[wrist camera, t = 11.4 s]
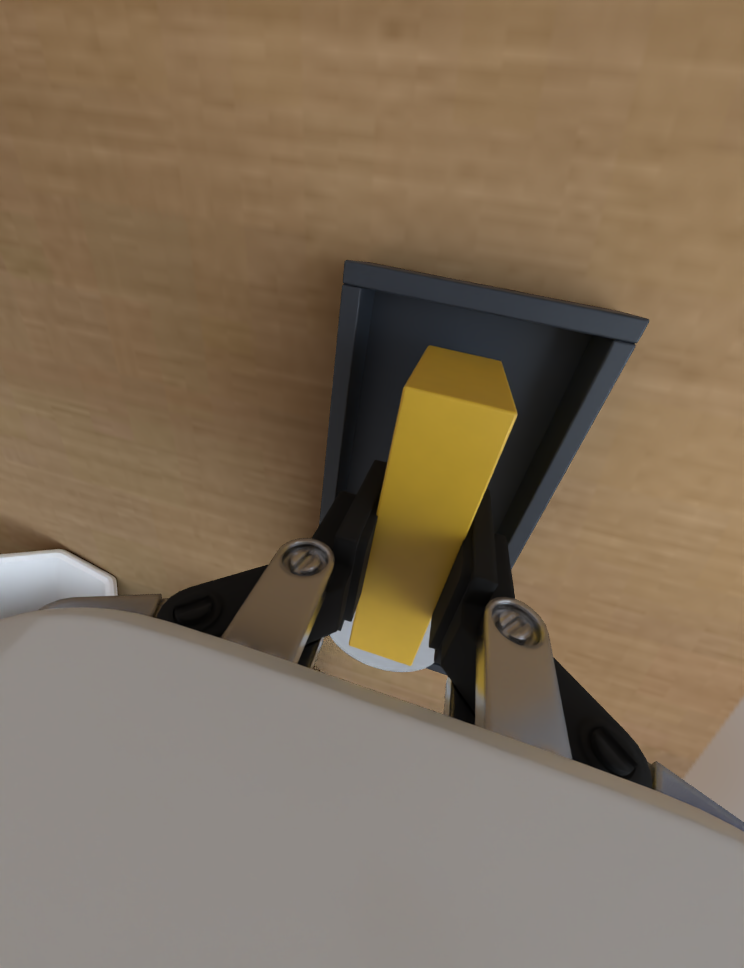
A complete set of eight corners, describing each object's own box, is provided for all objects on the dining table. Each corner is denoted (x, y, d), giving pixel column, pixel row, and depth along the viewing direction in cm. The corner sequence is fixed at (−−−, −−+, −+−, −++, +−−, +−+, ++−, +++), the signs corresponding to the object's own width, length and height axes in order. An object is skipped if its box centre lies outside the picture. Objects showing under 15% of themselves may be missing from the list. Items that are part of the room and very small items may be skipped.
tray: (365, 261, 12) (343, 259, 10) (619, 311, 11) (651, 319, 9) (323, 597, 21) (308, 628, 19) (453, 639, 20) (451, 677, 18)
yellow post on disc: (379, 333, 10) (329, 368, 7) (555, 372, 10) (603, 433, 6) (334, 615, 18) (300, 701, 15) (430, 646, 18) (419, 744, 14)
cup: (121, 650, 38) (147, 562, 28) (72, 781, 30) (82, 724, 20) (-13, 640, 33) (-41, 529, 23) (-114, 793, 25) (-223, 727, 15)
